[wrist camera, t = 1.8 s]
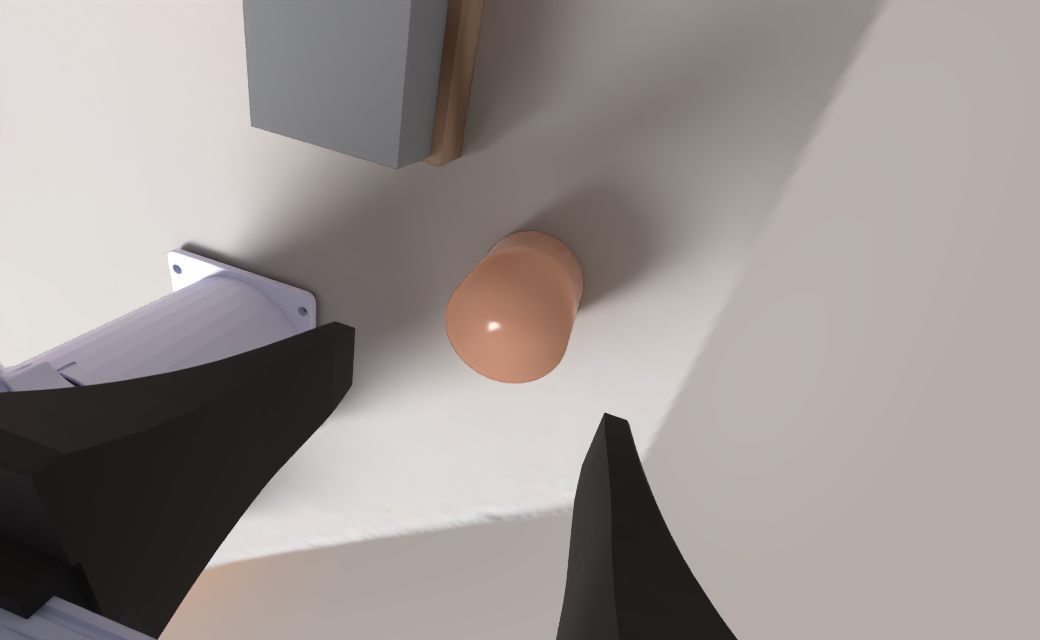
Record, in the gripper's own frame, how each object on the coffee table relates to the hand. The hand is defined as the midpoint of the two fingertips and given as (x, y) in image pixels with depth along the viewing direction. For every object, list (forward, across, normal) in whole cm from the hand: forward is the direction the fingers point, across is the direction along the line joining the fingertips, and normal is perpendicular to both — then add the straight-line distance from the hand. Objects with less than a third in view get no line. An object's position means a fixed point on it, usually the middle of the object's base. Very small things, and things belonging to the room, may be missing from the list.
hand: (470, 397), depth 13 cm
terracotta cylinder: (+8, 0, 0) cm, 8 cm away
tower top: (+6, +7, -7) cm, 12 cm away
